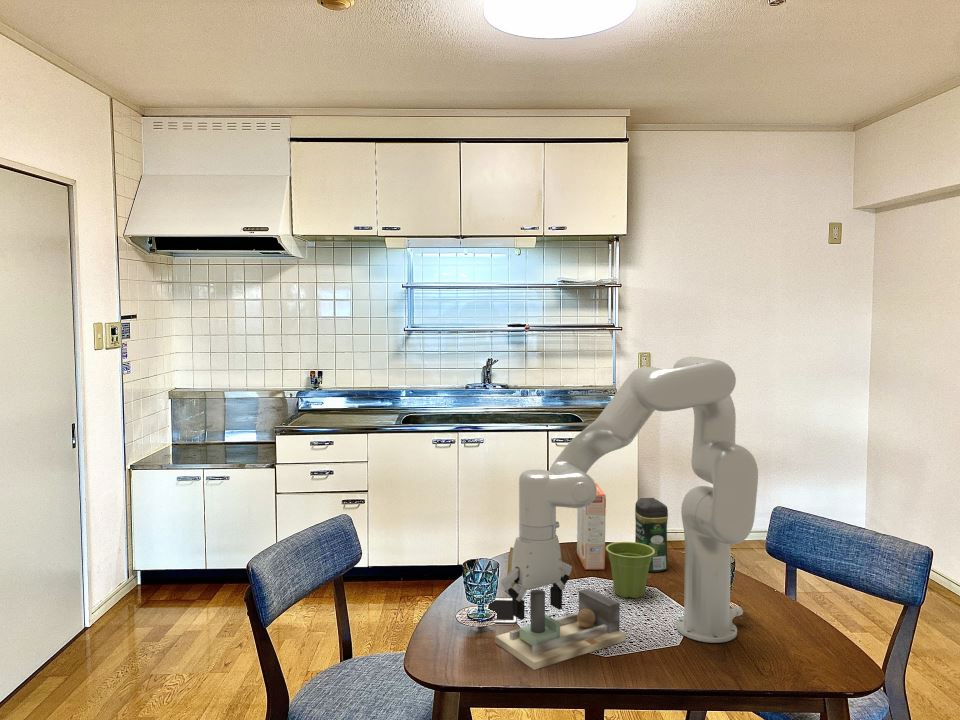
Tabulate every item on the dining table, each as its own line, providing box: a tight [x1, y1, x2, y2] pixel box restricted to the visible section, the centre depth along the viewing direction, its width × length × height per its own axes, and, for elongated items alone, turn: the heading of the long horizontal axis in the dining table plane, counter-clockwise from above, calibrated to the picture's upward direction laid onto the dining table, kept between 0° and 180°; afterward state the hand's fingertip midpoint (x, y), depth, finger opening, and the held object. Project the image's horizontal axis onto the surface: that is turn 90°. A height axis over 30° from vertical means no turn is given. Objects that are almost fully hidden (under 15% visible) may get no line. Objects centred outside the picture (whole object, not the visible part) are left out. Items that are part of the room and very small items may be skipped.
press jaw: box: [519, 589, 560, 646], centre depth 154 cm, size 6×6×10 cm
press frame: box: [494, 587, 627, 671], centre depth 157 cm, size 24×14×8 cm, turn 122°
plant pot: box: [605, 541, 655, 599], centre depth 183 cm, size 12×12×11 cm
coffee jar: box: [634, 497, 669, 573], centre depth 202 cm, size 10×8×19 cm
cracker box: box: [576, 482, 607, 571], centre depth 206 cm, size 14×6×21 cm, turn 1°
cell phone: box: [487, 596, 518, 625], centre depth 173 cm, size 8×15×1 cm, turn 176°
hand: (537, 612), depth 153 cm, fingers open, 9 cm apart
